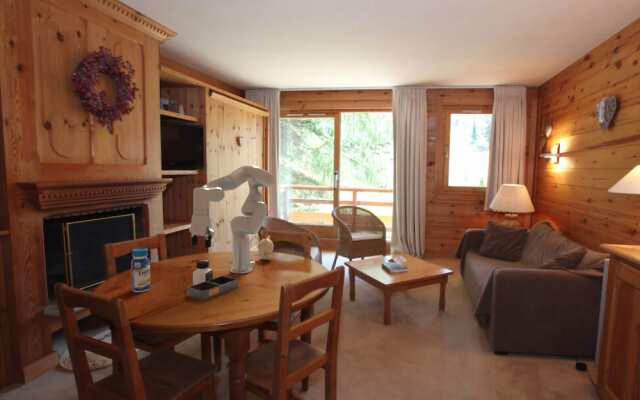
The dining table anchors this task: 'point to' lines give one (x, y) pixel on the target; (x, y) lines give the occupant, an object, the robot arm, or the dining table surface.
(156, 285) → the dining table surface
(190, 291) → the rack
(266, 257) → the kitten
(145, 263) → the beverage bottle
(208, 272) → the medicine bottle
